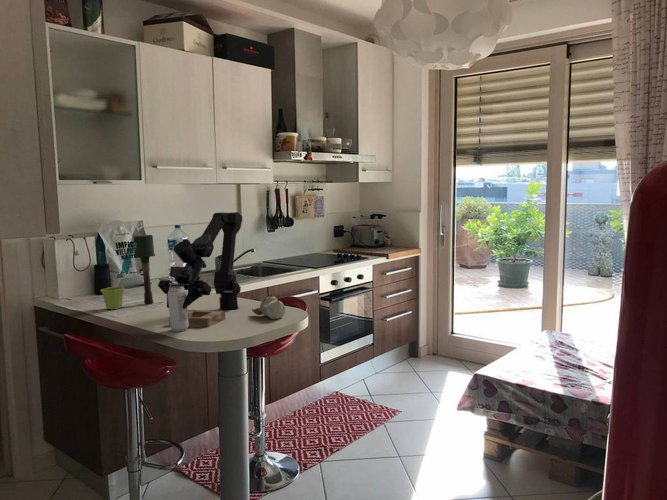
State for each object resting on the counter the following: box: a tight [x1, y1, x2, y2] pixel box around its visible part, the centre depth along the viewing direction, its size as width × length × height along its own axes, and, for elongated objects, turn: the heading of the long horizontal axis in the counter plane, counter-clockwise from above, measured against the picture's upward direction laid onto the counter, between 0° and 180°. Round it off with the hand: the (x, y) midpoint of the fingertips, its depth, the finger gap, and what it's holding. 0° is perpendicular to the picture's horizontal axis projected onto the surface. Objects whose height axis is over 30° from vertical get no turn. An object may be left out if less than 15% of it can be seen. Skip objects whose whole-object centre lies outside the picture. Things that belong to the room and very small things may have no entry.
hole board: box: [168, 309, 226, 328], centre depth 195 cm, size 12×16×3 cm
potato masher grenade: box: [133, 234, 156, 305], centre depth 232 cm, size 8×9×30 cm
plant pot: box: [99, 286, 125, 310], centre depth 227 cm, size 9×9×9 cm
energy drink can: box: [168, 286, 190, 333], centre depth 184 cm, size 6×6×15 cm
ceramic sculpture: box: [251, 294, 286, 320], centre depth 198 cm, size 11×9×15 cm
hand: (175, 307), depth 183 cm, fingers closed on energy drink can, 6 cm apart
